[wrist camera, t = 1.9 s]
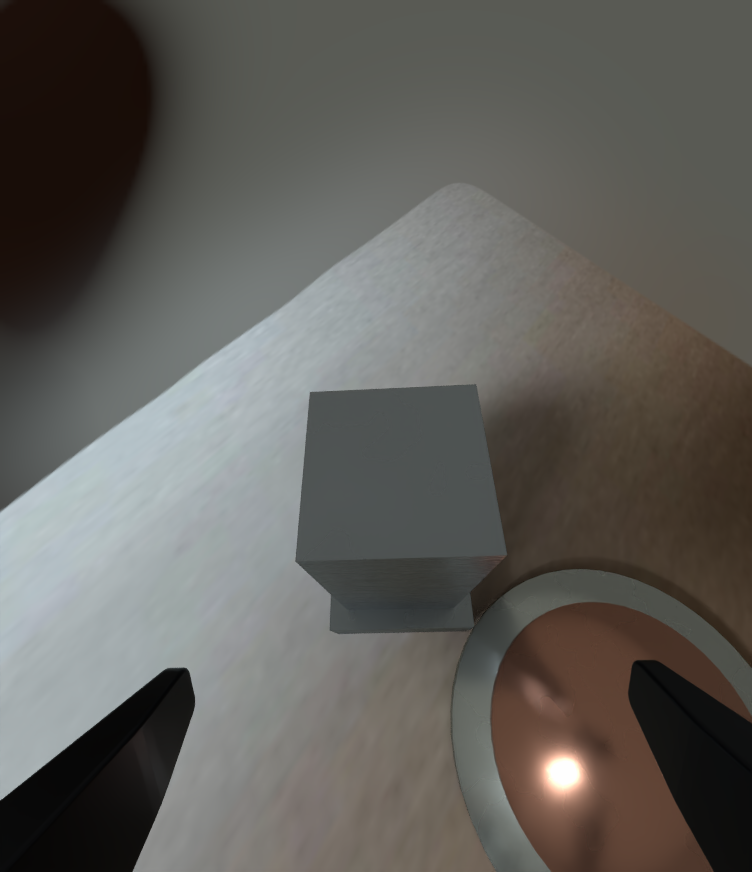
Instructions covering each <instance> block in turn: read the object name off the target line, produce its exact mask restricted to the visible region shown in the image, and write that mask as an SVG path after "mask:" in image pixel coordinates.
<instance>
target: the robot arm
mask: <svg viewBox="0 0 752 872" xmlns="http://www.w3.org/2000/svg"><path fill="white" fill-rule="evenodd" d="M628 698H629V702H630V705H631V708H632V710H633V712H634V714H635V716H636V719H637V721H638V723H639V725H640V727H641V729H642V732H643V734H644V736H645V738H646V740H647V743H648V745H649V747H650V749H651V751H652V753H653V756H654V758H655V760H656V762H657V764H658V767H659V769H660V771H661V773H662V775H663V777H664V780H665V782H666V784H667V786H668V788H669V790H670V792H671V794H672V796H673V798H674V800H675V802H676V804H677V806H678V808H679V810H680V812H681V814H682V815H683V817H684V819H685V821H686V823H687V825H688V826H689V828H690V830H691V832H692V834H693V835H694V837H695V839H696V841H697V843H698V844H699V846H700V848H701V850H702V852H703V853H704V855H705V857H706V859H707V860H708V862H709V864H710V866H711V868H712V869H713V871H714V872H752V723H751V722H749V721H748V720H746V719H745V718H743V717H742V716H740V715H739V714H737V713H736V712H734V711H733V710H731V709H730V708H728V707H727V706H725V705H724V704H722V703H721V702H719V701H718V700H716V699H715V698H713V697H712V696H710V695H709V694H707V693H706V692H704V691H703V690H701V689H700V688H698V687H697V686H695V685H694V684H692V683H691V682H689V681H688V680H686V679H685V678H683V677H682V676H680V675H679V674H677V673H676V672H674V671H673V670H671V669H670V668H668V667H667V666H665V665H664V664H662V663H661V662H659V661H657V660H636V661H634V662H633V664H632V668H631V675H630V681H629V688H628ZM194 707H195V695H194V691H193V686H192V682H191V677H190V673H189V671H188V669H187V668H168V669H165V670H164V671H162V672H161V673H160V674H159V675H157V676H156V677H155V678H153V679H152V680H151V681H150V682H148V683H147V684H146V685H145V686H143V687H142V688H141V689H140V690H138V691H137V692H136V693H135V694H133V695H132V696H131V697H130V698H128V699H127V700H126V701H125V702H123V703H122V704H121V705H120V706H118V707H117V708H116V709H115V710H113V711H112V712H111V713H110V714H108V715H107V716H106V717H105V718H103V719H102V720H101V721H100V722H98V723H97V724H96V725H95V726H93V727H92V728H91V729H90V730H88V731H87V732H86V733H84V734H83V735H82V736H81V737H79V738H78V739H77V740H76V741H74V742H73V743H72V744H71V745H69V746H68V747H67V748H66V749H64V750H63V751H62V752H61V753H59V754H58V755H57V756H56V757H54V758H53V759H52V760H51V761H49V762H48V763H47V764H46V765H44V766H43V767H42V768H41V769H39V770H38V771H37V772H36V773H34V774H33V775H32V776H31V777H29V778H28V779H27V780H26V781H24V782H23V783H22V784H21V785H19V786H18V787H17V788H15V789H14V790H13V791H12V792H10V793H9V794H8V795H7V796H5V797H4V798H3V799H2V800H0V872H132V871H133V869H134V867H135V865H136V862H137V860H138V858H139V855H140V853H141V851H142V848H143V846H144V844H145V842H146V839H147V837H148V835H149V832H150V830H151V828H152V825H153V823H154V821H155V818H156V816H157V814H158V811H159V809H160V806H161V804H162V801H163V799H164V796H165V793H166V790H167V788H168V785H169V782H170V779H171V776H172V773H173V770H174V767H175V764H176V761H177V758H178V756H179V753H180V750H181V747H182V744H183V741H184V738H185V735H186V732H187V729H188V726H189V723H190V720H191V717H192V715H193V711H194Z"/></svg>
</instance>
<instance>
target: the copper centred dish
mask: <svg viewBox="0 0 752 872" xmlns="http://www.w3.org/2000/svg"><path fill="white" fill-rule="evenodd" d="M636 660H657V661H659V662H661V663H662V664H664V665H665V666H667V667H668V668H670V669H671V670H673V671H674V672H676V673H677V674H679V675H680V676H682V677H683V678H685V679H686V680H688V681H689V682H691V683H692V684H694V685H695V686H697V687H698V688H700V689H701V690H703V691H704V692H706V693H707V694H709V695H710V696H712V697H713V698H715V699H716V700H718V701H719V702H721V703H722V704H724V705H725V706H727V707H728V708H730V709H731V710H733V711H734V712H736V713H737V714H739V715H740V716H742V717H743V718H745V719H746V720H748V721H749V722H751V723H752V668H751V667H750V666H749V665H748V663H747V662H746V661H745V660H744V659H743V658H742V656H741V655H740V654H739V653H738V652H737V650H736V649H735V648H734V647H733V646H732V645H731V644H730V643H729V642H728V641H727V640H726V639H725V638H724V637H723V636H722V635H721V634H720V633H719V632H718V631H717V630H716V629H715V628H713V627H712V626H711V625H710V624H709V623H707V622H706V621H705V620H704V619H703V618H701V617H700V616H699V615H698V614H697V613H695V612H694V611H692V610H691V609H689V608H688V607H686V606H685V605H684V604H682V603H681V602H679V601H678V600H676V599H674V598H673V597H671V596H669V595H667V594H665V593H664V592H662V591H660V590H658V589H657V588H654V587H652V586H650V585H647V584H645V583H643V582H640V581H638V580H635V579H632V578H629V577H626V576H623V575H619V574H615V573H610V572H605V571H600V570H587V569H572V570H560V571H555V572H550V573H546V574H542V575H539V576H537V577H534V578H531V579H529V580H527V581H525V582H523V583H521V584H519V585H518V586H516V587H514V588H512V589H511V590H509V591H508V592H507V593H505V594H504V595H503V596H501V597H500V598H499V599H498V600H496V601H495V602H494V603H493V604H492V605H491V606H490V607H489V608H488V609H487V611H486V612H485V613H484V614H483V615H482V616H481V618H480V619H479V621H478V622H477V624H476V625H475V626H474V628H473V629H472V631H471V633H470V635H469V637H468V639H467V641H466V643H465V645H464V648H463V650H462V653H461V656H460V659H459V662H458V665H457V669H456V674H455V678H454V683H453V689H452V699H451V739H452V747H453V756H454V762H455V767H456V771H457V776H458V780H459V784H460V789H461V792H462V795H463V798H464V801H465V804H466V807H467V810H468V813H469V816H470V818H471V820H472V823H473V825H474V827H475V829H476V832H477V834H478V836H479V838H480V841H481V843H482V845H483V847H484V850H485V852H486V854H487V856H488V857H489V859H490V861H491V863H492V864H493V866H494V868H495V870H496V871H497V872H714V871H713V869H712V868H711V866H710V864H709V862H708V860H707V859H706V857H705V855H704V853H703V852H702V850H701V848H700V846H699V844H698V843H697V841H696V839H695V837H694V835H693V834H692V832H691V830H690V828H689V826H688V825H687V823H686V821H685V819H684V817H683V815H682V814H681V812H680V810H679V808H678V806H677V804H676V802H675V800H674V798H673V796H672V794H671V792H670V790H669V788H668V786H667V784H666V782H665V780H664V777H663V775H662V773H661V771H660V769H659V767H658V764H657V762H656V760H655V758H654V756H653V753H652V751H651V749H650V747H649V745H648V743H647V740H646V738H645V736H644V734H643V732H642V729H641V727H640V725H639V723H638V721H637V719H636V716H635V714H634V712H633V710H632V708H631V705H630V702H629V698H628V688H629V681H630V675H631V668H632V664H633V662H634V661H636Z"/></svg>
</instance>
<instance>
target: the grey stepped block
mask: <svg viewBox="0 0 752 872" xmlns="http://www.w3.org/2000/svg"><path fill="white" fill-rule="evenodd" d="M506 556H507V551H506V546H505V540H504V535H503V529H502V524H501V518H500V513H499V507H498V502H497V496H496V491H495V485H494V480H493V474H492V469H491V463H490V458H489V452H488V447H487V441H486V436H485V430H484V425H483V419H482V414H481V408H480V403H479V397H478V392H477V386H476V384H474V385H453V386H432V387H410V388H389V389H368V390H346V391H325V392H310V398H309V410H308V421H307V433H306V445H305V456H304V468H303V479H302V491H301V503H300V514H299V526H298V538H297V549H296V562H297V563H298V564H299V565H300V566H301V567H302V568H303V569H304V570H305V571H306V572H307V573H308V574H309V575H311V576H312V577H313V578H314V579H315V580H316V581H317V582H318V583H319V584H320V585H321V586H322V587H323V588H324V589H326V590H327V591H328V592H329V593H330V594H331V611H330V631H332V632H335V633H337V634H357V633H404V632H452V631H467V630H470V629H472V628H474V619H473V612H472V604H471V596H470V592H471V591H472V590H473V589H474V588H475V587H476V586H477V585H478V584H479V583H480V582H481V581H482V580H483V579H484V578H485V577H486V576H487V575H488V574H489V573H490V572H491V571H492V570H493V569H494V568H495V567H496V566H497V565H498V564H499V563H500V562H501V561H502V560H503V559H504V558H505V557H506Z"/></svg>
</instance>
